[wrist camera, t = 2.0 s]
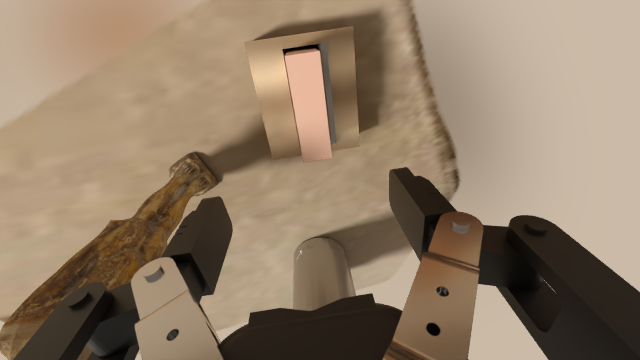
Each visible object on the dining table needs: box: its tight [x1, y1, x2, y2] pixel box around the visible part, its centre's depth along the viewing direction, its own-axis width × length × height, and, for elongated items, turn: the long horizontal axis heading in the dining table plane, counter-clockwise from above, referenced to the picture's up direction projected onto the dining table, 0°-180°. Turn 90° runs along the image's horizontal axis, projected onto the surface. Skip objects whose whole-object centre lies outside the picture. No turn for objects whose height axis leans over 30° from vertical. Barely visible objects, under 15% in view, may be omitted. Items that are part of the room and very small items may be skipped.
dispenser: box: [244, 26, 360, 159], centre depth 30 cm, size 13×11×5 cm
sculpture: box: [0, 153, 217, 360], centre depth 23 cm, size 7×6×30 cm
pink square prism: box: [285, 47, 332, 162], centre depth 28 cm, size 10×3×10 cm, turn 7°
